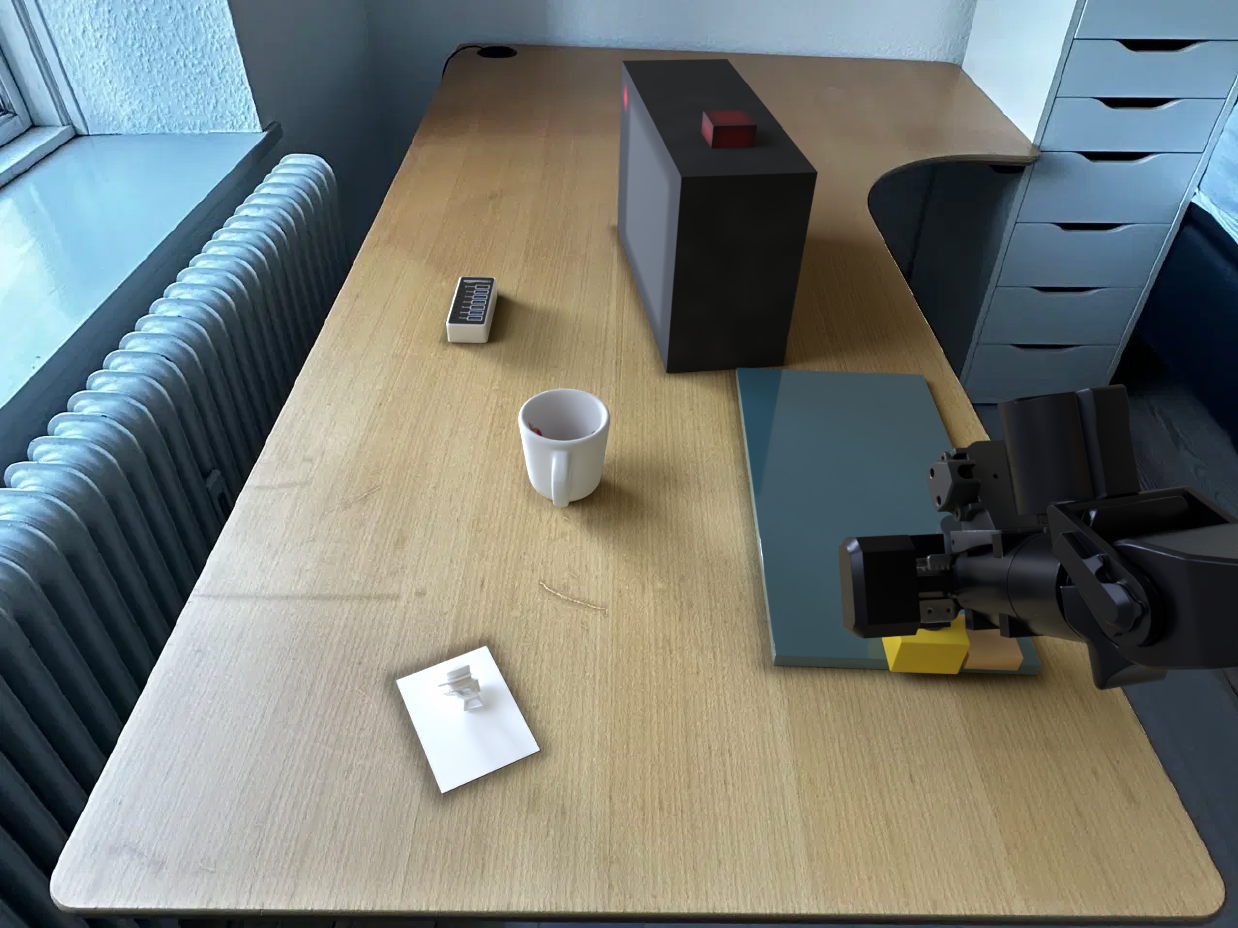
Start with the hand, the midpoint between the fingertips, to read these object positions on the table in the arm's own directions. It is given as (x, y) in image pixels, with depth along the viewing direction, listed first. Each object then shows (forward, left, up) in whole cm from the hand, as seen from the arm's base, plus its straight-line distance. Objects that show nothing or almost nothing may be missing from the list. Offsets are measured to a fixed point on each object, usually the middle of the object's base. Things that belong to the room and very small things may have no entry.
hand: (931, 573), depth 64 cm
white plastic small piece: (+15, +31, -8) cm, 35 cm away
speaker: (+51, -23, -8) cm, 56 cm away
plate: (+13, -10, -8) cm, 18 cm away
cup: (+30, +12, -8) cm, 33 cm away
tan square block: (-4, -3, -7) cm, 9 cm away
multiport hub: (+61, +3, -8) cm, 61 cm away
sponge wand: (-1, +1, -7) cm, 7 cm away
